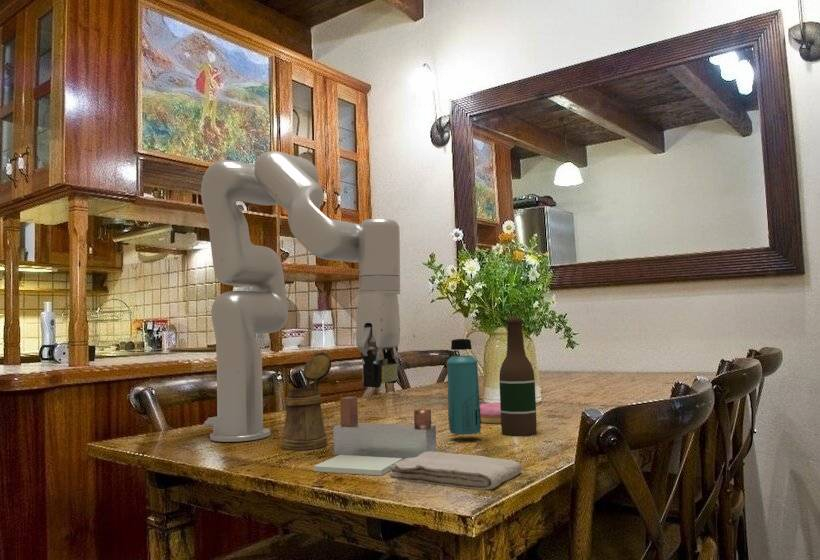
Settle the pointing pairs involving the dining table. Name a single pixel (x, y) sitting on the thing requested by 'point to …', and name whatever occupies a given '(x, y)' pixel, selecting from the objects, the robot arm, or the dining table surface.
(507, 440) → the dining table surface
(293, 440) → the wooden utensil holder
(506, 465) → the washcloth
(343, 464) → the mat
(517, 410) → the beer bottle
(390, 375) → the beige block
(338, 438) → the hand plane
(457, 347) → the beverage bottle
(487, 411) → the doughnut
